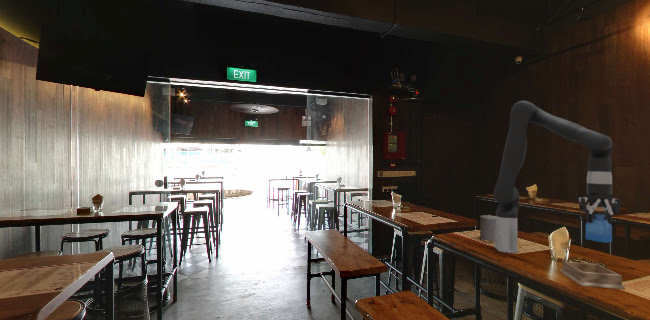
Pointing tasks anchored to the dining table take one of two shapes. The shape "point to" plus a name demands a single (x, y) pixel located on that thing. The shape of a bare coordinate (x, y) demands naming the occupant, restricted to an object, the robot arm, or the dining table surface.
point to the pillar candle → (487, 227)
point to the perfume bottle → (599, 228)
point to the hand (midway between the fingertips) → (598, 222)
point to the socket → (592, 275)
